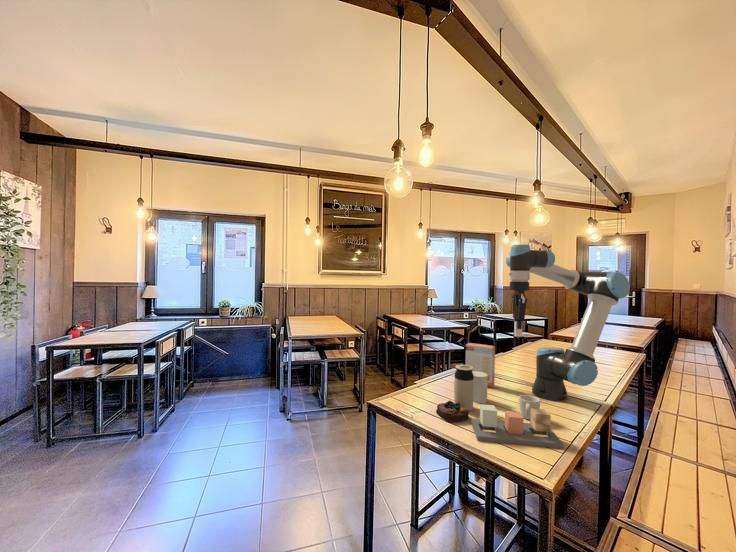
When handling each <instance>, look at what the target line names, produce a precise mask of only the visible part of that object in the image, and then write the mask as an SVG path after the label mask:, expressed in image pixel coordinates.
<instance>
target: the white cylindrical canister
mask: <svg viewBox="0 0 736 552" xmlns="http://www.w3.org/2000/svg"><path fill="white" fill-rule="evenodd" d="M472 373H473V375H474V383H473V403H476V404H485V403H487V402H488V387H487V380H488V375H487V374H486V373H483V372H478V371H473V372H472Z"/></svg>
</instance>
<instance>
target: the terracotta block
mask: <svg viewBox="0 0 736 552" xmlns="http://www.w3.org/2000/svg"><path fill="white" fill-rule="evenodd" d="M524 419H525V418H523V417H522V415H521V414H520V411H511V410H510V411H507V410H505V411H504V421H505V428H506V432H507V433H508V434H520V435H523V423H524Z"/></svg>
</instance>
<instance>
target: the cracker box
mask: <svg viewBox="0 0 736 552" xmlns="http://www.w3.org/2000/svg"><path fill="white" fill-rule="evenodd" d="M495 356H496V346H494V345H488V344H481V343H474V342H468V343H466V344H465V365H469V366H472V367H473V370H472V372H473V371H478V372H483V373H486V374H487V375H488V380H487V388H493V387H494V386H495V378H496V377H495V369H496V366H495V364H496V362H495V361H496V360H495V359H496V357H495Z"/></svg>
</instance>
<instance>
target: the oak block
mask: <svg viewBox="0 0 736 552" xmlns="http://www.w3.org/2000/svg"><path fill="white" fill-rule="evenodd" d="M551 418H552V416H551V414H550V413H549V411H547V410H546V409H545V408H540V409H535V408H531V419H530V420H529V421H530V422H529V423H530V424H531V426H532V427H533V428H534V430H535V431H544V432H550V429H551V420H552V419H551Z"/></svg>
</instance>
